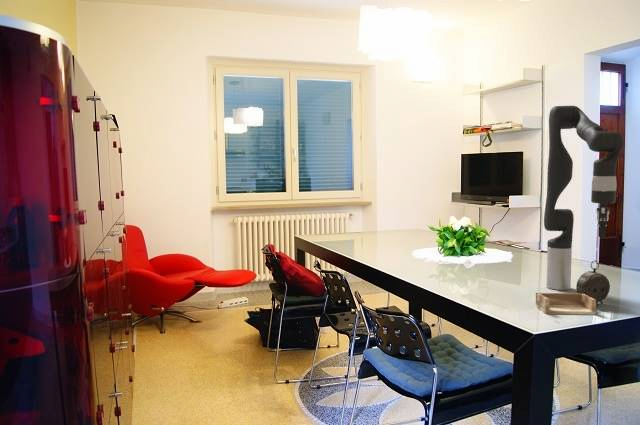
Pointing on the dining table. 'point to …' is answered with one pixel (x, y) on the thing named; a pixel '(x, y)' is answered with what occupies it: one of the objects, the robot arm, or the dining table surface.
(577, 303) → the clock stand
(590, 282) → the alarm clock
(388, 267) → the dining table surface
